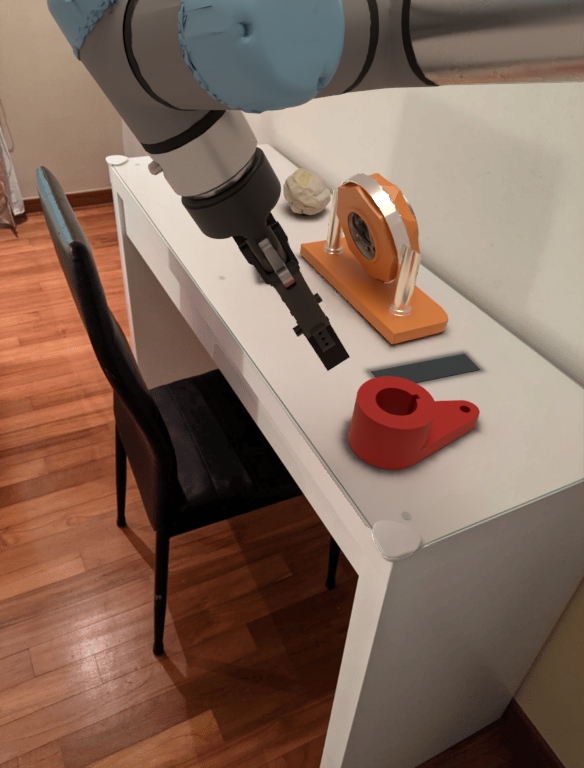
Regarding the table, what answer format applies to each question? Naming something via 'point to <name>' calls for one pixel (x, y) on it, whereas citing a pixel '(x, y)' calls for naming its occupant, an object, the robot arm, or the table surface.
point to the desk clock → (376, 258)
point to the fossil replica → (306, 192)
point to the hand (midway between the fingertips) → (336, 359)
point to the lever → (404, 422)
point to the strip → (430, 369)
